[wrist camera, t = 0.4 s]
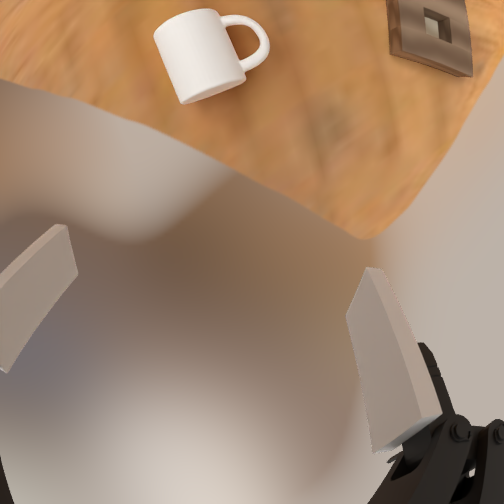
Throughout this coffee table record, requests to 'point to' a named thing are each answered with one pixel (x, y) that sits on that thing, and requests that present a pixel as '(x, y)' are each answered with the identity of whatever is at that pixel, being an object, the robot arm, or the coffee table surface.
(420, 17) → the bore block
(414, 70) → the coffee table surface
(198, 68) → the mug
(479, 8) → the coffee table surface
